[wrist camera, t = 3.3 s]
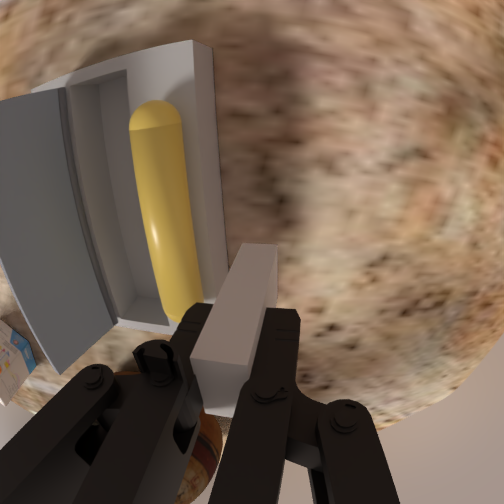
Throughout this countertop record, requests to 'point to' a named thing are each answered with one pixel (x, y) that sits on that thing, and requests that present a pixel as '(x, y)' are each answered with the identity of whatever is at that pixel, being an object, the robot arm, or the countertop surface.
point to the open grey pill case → (123, 175)
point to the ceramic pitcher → (199, 457)
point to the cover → (48, 230)
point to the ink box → (13, 362)
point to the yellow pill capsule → (166, 204)
